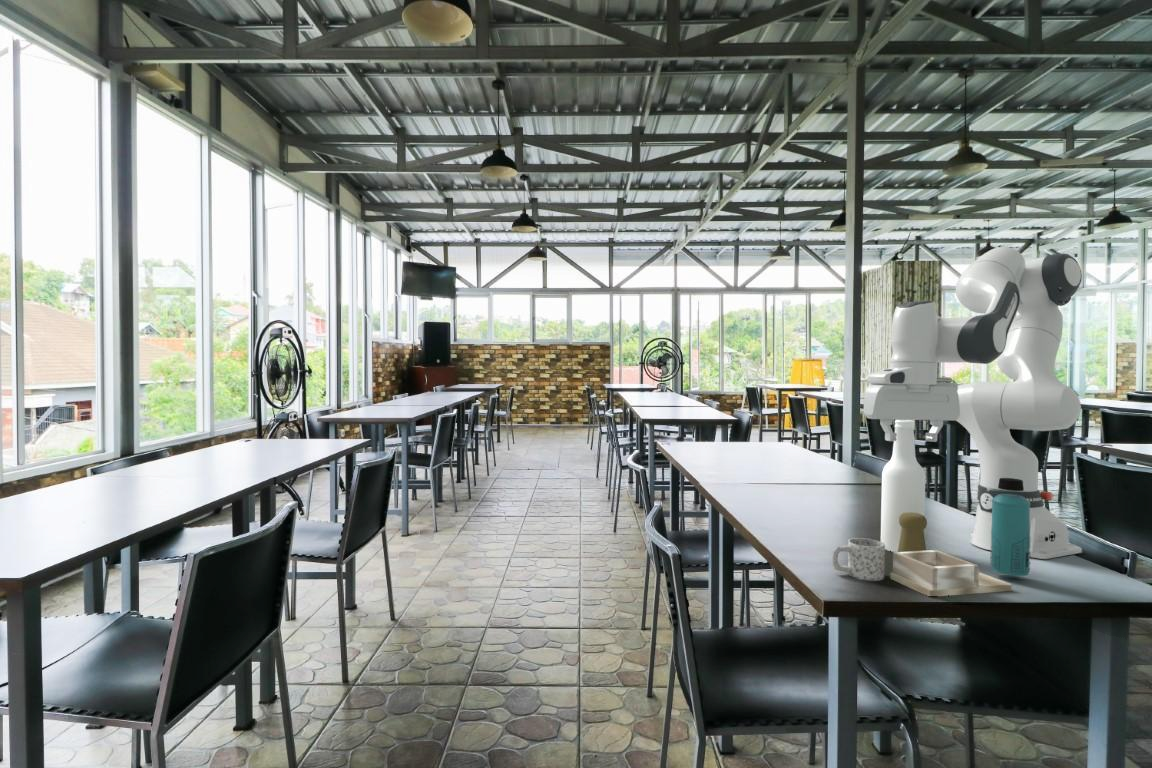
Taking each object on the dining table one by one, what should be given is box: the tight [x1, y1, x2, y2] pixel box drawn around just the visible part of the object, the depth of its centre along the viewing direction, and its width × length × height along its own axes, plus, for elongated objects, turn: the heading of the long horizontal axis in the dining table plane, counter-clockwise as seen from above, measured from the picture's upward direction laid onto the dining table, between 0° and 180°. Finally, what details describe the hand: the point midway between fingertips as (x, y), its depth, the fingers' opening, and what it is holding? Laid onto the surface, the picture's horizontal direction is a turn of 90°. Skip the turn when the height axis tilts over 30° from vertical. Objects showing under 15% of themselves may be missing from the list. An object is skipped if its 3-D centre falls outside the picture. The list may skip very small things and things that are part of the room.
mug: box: [832, 537, 886, 582], centre depth 122 cm, size 10×7×7 cm
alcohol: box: [880, 419, 926, 553], centre depth 140 cm, size 9×9×30 cm
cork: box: [898, 512, 928, 552], centre depth 129 cm, size 6×6×11 cm
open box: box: [889, 549, 1013, 597], centre depth 117 cm, size 18×10×5 cm, turn 102°
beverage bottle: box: [989, 478, 1031, 577], centre depth 121 cm, size 6×7×20 cm
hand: (910, 441), depth 129 cm, fingers open, 8 cm apart
